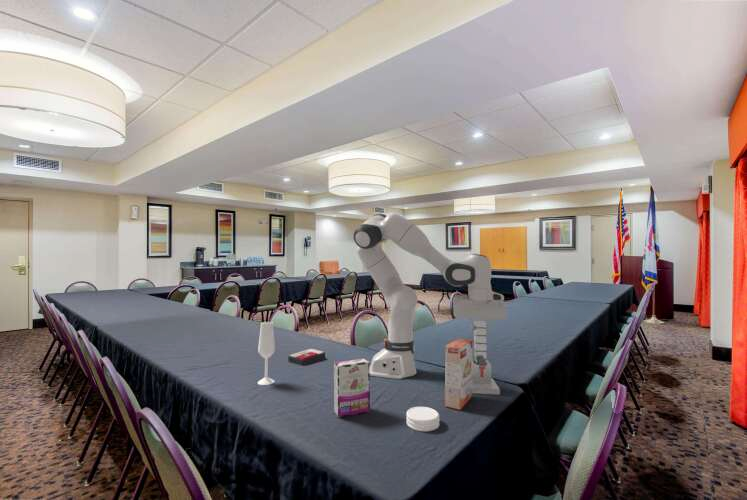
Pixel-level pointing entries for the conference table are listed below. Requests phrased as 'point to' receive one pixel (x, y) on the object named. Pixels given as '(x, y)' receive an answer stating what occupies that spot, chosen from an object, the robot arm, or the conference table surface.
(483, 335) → the column
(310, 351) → the flat red white box
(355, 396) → the candy bar box
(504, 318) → the robot arm
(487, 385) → the housing
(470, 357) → the cracker box
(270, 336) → the champagne flute
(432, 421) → the coaster
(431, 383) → the conference table surface
